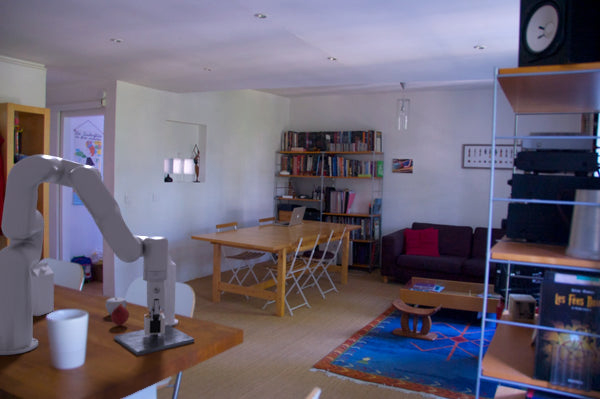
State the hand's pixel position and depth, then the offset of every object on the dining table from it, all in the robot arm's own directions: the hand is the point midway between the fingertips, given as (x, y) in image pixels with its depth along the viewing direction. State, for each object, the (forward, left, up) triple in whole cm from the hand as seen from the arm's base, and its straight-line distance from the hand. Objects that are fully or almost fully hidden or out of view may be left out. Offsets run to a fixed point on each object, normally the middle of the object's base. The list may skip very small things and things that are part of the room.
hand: (154, 329), depth 153 cm
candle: (+12, +14, -4) cm, 19 cm away
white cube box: (0, 0, -1) cm, 1 cm away
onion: (-3, +21, -4) cm, 22 cm away
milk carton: (-21, +54, -4) cm, 58 cm away
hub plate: (0, 0, -4) cm, 4 cm away
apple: (+1, +35, -4) cm, 35 cm away
